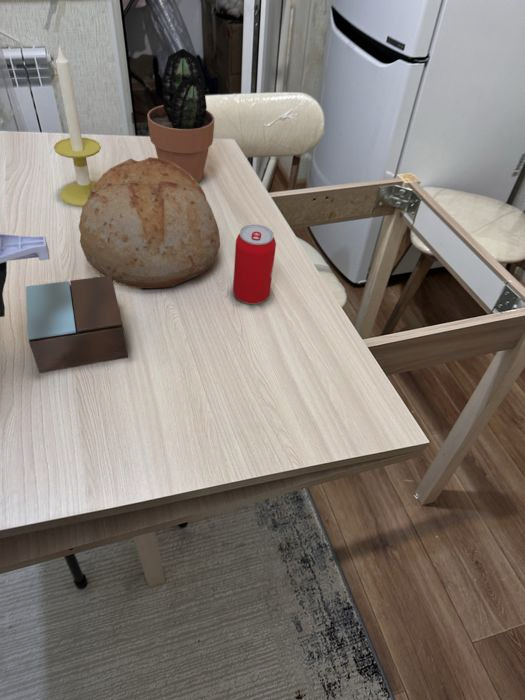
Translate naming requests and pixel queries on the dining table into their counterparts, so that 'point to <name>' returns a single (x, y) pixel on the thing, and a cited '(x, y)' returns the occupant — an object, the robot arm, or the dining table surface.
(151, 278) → the bread
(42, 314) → the door
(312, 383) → the dining table surface
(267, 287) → the beverage can
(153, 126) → the potted plant
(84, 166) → the candle
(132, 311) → the dining table surface
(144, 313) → the dining table surface
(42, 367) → the box
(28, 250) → the robot arm
